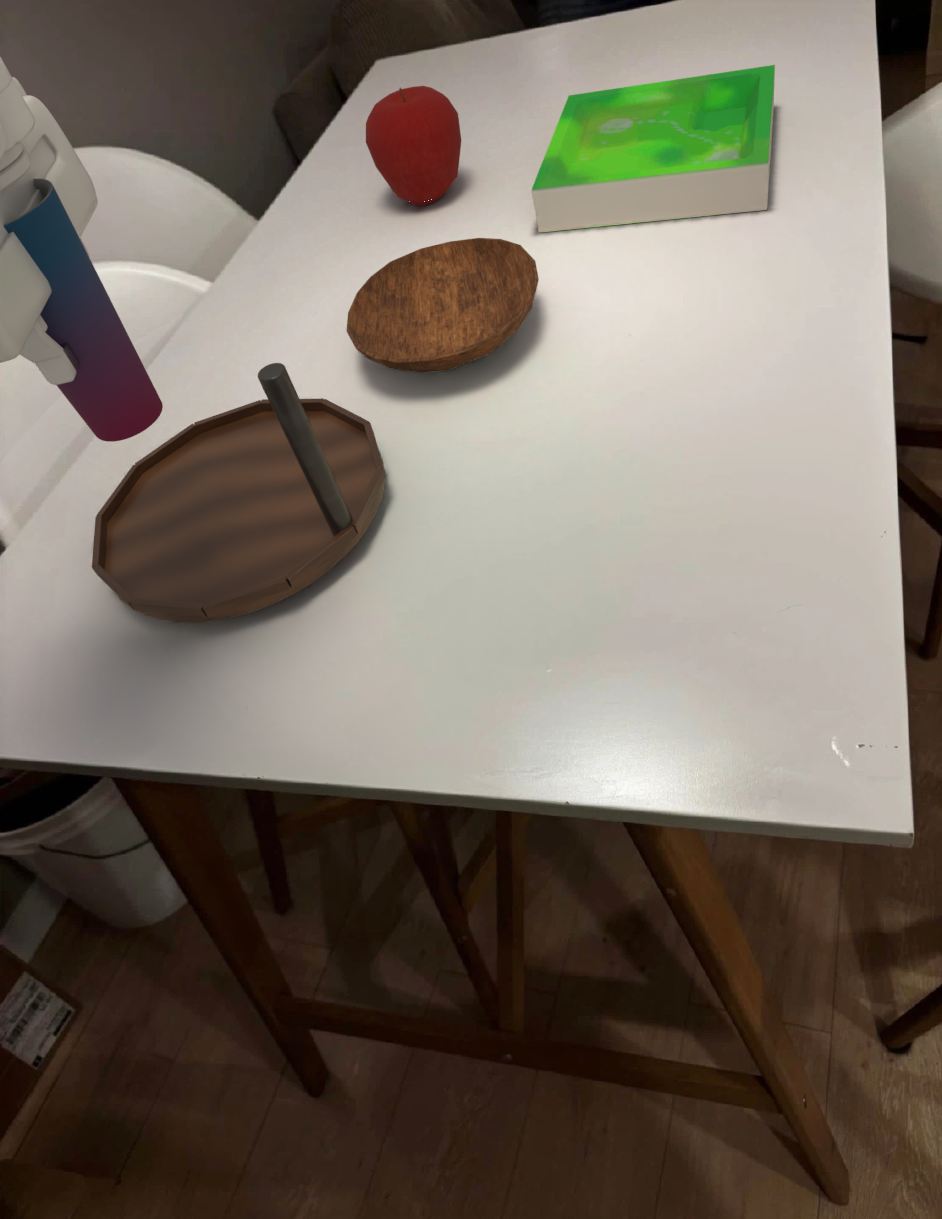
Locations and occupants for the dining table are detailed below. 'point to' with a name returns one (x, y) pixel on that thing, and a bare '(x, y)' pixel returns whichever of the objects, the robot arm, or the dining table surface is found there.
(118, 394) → the cup
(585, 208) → the green flat block
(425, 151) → the apple
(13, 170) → the robot arm
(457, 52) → the dining table surface
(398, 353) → the bowl
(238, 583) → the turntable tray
